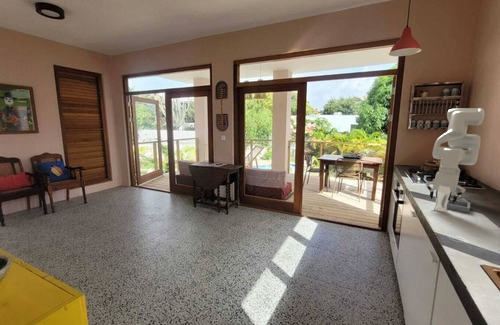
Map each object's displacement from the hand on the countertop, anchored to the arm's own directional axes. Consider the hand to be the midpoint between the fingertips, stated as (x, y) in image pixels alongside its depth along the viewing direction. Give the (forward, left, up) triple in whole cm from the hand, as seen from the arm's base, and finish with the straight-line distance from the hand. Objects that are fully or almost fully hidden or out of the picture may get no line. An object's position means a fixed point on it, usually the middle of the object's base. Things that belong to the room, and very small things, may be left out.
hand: (442, 200), depth 133 cm
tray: (-13, +6, -6) cm, 15 cm away
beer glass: (0, 0, -6) cm, 6 cm away
